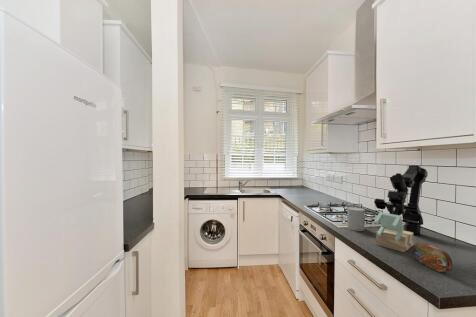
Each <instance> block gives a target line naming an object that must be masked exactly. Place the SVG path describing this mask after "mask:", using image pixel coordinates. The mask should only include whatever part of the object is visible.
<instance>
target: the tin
mask: <svg viewBox="0 0 476 317" xmlns="http://www.w3.org/2000/svg"><path fill="white" fill-rule="evenodd" d="M412 250H413V251H412V252H413V255H414V258H415V259H416V260H417V262H419V263H420V262H421V263H420V264H422V263H423V264H422V265H424V264H425V265H424V266H426V267H428V268H430V269H431V268H432V270H433V269H434V270H433V271H435V270H436V272H437V271H438V273H448V272H450V271H451V270H452V268H453V260H452V258H451V256H450V255H449V253H448V252H446V251H445V250H443V249H440V248H438V247H437V246H433V245H431V244H428V243H426V242H417V243H415V244H413V248H412Z"/></svg>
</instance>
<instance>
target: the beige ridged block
mask: <svg viewBox="0 0 476 317" xmlns="http://www.w3.org/2000/svg"><path fill="white" fill-rule="evenodd" d="M378 231H379V229H378V230H376V231H375V245H377V246H380V247H383V248H388V249H391V250H395V251H399V252H402V253H405V252H406V251H408V250H409V249H410V248H412V247H414V233H413V232H409V231H403V233H402V235H401V237H400V239H399V241H396V240H395V236H396V234H397V231H392V230H388V229H385V230H384V231H383V233H382V235H381V236H377V232H378Z"/></svg>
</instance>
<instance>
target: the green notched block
mask: <svg viewBox="0 0 476 317" xmlns="http://www.w3.org/2000/svg"><path fill="white" fill-rule="evenodd" d="M379 223H380V227H379V229H378V230H379V231H378V230H377V231H378V232H377V236H381V235H382V233H383V231H384V230H385V229H388V230H392V231H397V234H396V236H395V240H396V241H399V239H400V237H401V235H402V233H403V231H404V226H403V218H402V215H400V216H399V215H394V214H390V213H389V212H387V213H386V212H383V211H382V212H381V211H379V212H378V214H377V216H376V217H375V219H374V224H377V225H379Z"/></svg>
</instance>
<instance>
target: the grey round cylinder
mask: <svg viewBox="0 0 476 317" xmlns="http://www.w3.org/2000/svg"><path fill="white" fill-rule="evenodd" d="M365 211H366V210H365V208H362V207H358V206H357V207H356V206H349V207H348V206H347V223H346V224H347V229H348V230H352V231H357V232H363V231H365V219H366V217H365V213H366V212H365Z"/></svg>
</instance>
